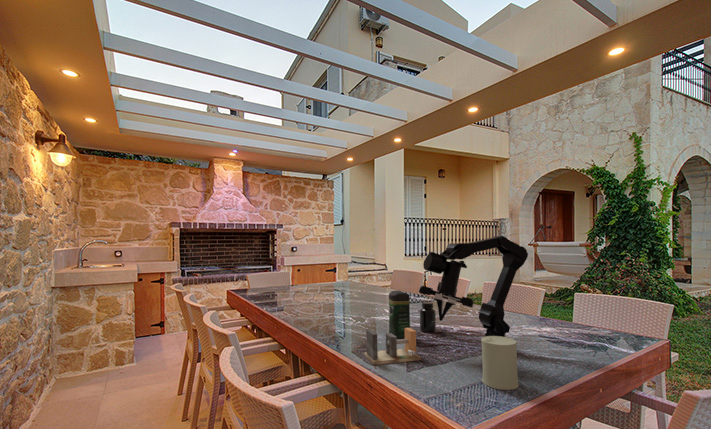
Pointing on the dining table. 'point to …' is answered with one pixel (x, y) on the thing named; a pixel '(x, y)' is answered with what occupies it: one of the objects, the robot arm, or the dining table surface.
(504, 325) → the robot arm
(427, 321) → the supplement bottle
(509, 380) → the can
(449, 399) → the dining table surface
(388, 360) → the wooden base with posts
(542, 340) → the dining table surface
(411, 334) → the plunger
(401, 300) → the coffee jar
